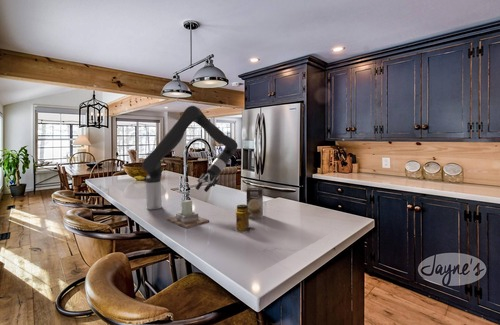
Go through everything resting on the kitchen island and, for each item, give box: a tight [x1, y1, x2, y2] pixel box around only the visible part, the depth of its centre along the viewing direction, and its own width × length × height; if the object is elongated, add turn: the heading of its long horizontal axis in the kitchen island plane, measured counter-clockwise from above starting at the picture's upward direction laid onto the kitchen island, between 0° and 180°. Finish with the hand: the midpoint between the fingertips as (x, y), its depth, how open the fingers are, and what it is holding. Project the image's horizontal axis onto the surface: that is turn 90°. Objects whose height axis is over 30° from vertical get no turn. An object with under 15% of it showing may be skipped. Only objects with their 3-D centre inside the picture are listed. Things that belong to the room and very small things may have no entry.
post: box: [181, 199, 193, 216], centre depth 141 cm, size 4×4×10 cm
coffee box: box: [246, 187, 264, 219], centre depth 147 cm, size 9×6×16 cm
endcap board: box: [166, 211, 210, 229], centre depth 142 cm, size 20×14×4 cm
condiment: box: [233, 204, 255, 234], centre depth 127 cm, size 7×8×12 cm
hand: (200, 190), depth 147 cm, fingers open, 8 cm apart
